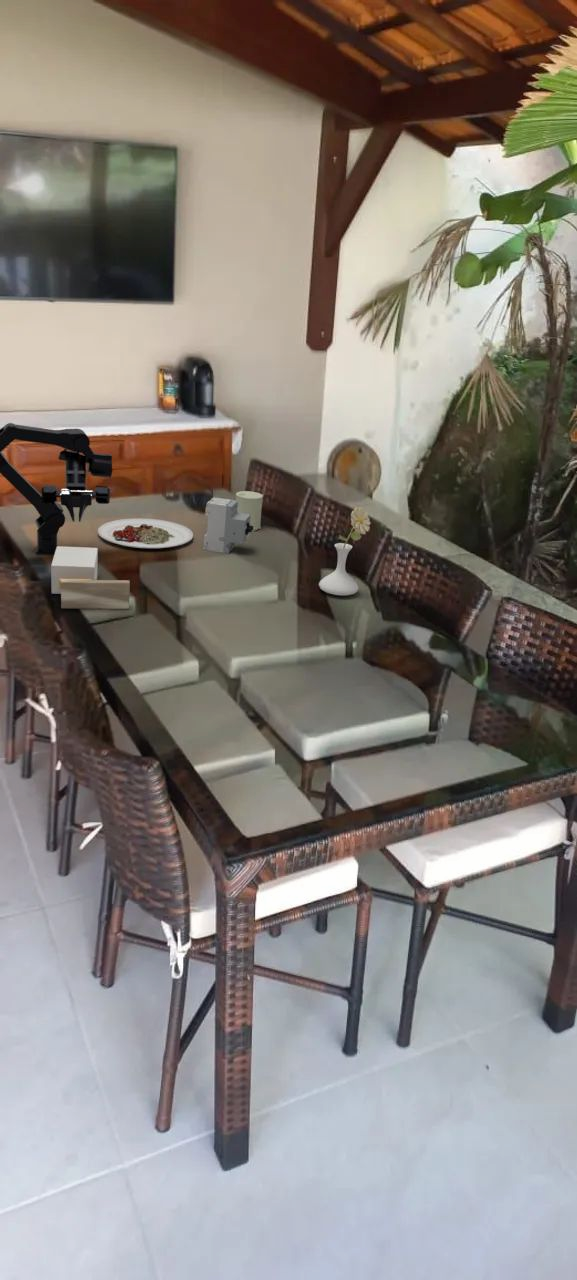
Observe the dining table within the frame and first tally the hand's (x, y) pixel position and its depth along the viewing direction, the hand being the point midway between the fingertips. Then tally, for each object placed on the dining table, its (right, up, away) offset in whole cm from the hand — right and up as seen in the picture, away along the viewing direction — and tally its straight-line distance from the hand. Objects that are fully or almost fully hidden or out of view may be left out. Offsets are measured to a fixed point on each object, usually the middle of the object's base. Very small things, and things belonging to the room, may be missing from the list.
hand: (76, 521), depth 259 cm
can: (+45, +5, +54) cm, 71 cm away
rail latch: (+4, -20, -21) cm, 29 cm away
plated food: (+14, -1, +35) cm, 38 cm away
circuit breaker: (+41, -5, +31) cm, 51 cm away
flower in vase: (+74, -20, +5) cm, 77 cm away
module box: (+2, -18, -8) cm, 20 cm away
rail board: (+10, -25, -22) cm, 35 cm away
